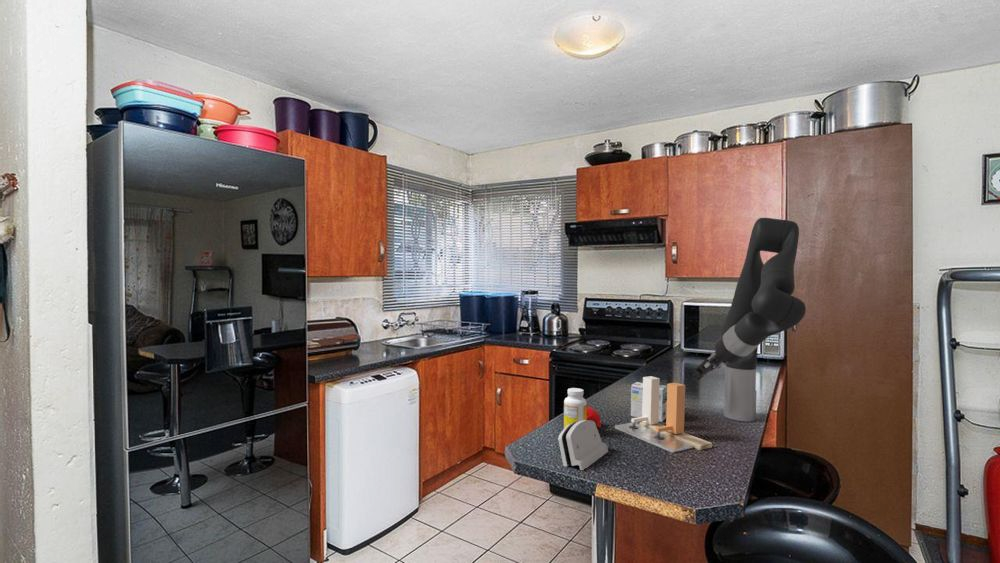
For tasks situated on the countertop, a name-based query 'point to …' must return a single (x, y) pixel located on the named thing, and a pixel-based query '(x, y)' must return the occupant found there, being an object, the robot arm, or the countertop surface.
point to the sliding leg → (674, 409)
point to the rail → (682, 437)
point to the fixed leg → (649, 401)
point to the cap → (593, 416)
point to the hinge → (581, 444)
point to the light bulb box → (638, 396)
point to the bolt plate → (654, 437)
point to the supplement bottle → (574, 406)
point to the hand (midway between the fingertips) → (705, 371)
